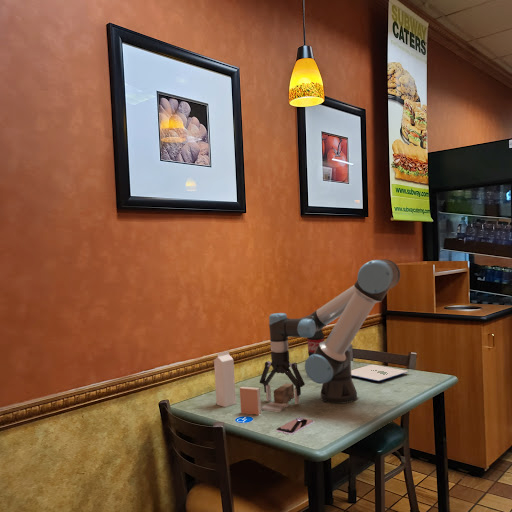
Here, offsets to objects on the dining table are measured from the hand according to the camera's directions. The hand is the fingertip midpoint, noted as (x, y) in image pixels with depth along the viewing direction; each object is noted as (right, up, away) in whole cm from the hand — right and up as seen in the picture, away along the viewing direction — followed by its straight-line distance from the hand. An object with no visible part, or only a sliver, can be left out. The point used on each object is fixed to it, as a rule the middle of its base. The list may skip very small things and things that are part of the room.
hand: (282, 401), depth 196 cm
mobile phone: (+3, 0, -28) cm, 29 cm away
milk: (-24, -2, +2) cm, 24 cm away
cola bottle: (+20, +1, +38) cm, 43 cm away
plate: (+47, +2, +34) cm, 58 cm away
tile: (-13, -1, -12) cm, 18 cm away
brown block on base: (-1, 0, -1) cm, 2 cm away
